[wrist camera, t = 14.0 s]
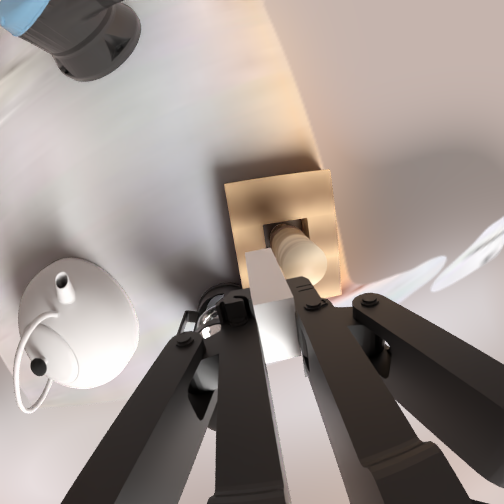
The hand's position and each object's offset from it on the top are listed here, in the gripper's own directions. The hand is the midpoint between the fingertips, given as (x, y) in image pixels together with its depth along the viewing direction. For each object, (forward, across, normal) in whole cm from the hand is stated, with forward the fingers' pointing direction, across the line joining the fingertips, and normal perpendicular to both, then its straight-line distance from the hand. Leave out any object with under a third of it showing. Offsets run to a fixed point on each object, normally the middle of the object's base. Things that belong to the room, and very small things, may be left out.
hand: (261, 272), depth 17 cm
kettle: (+25, -32, -11) cm, 42 cm away
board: (+25, +5, -5) cm, 26 cm away
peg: (+25, +5, -5) cm, 26 cm away
